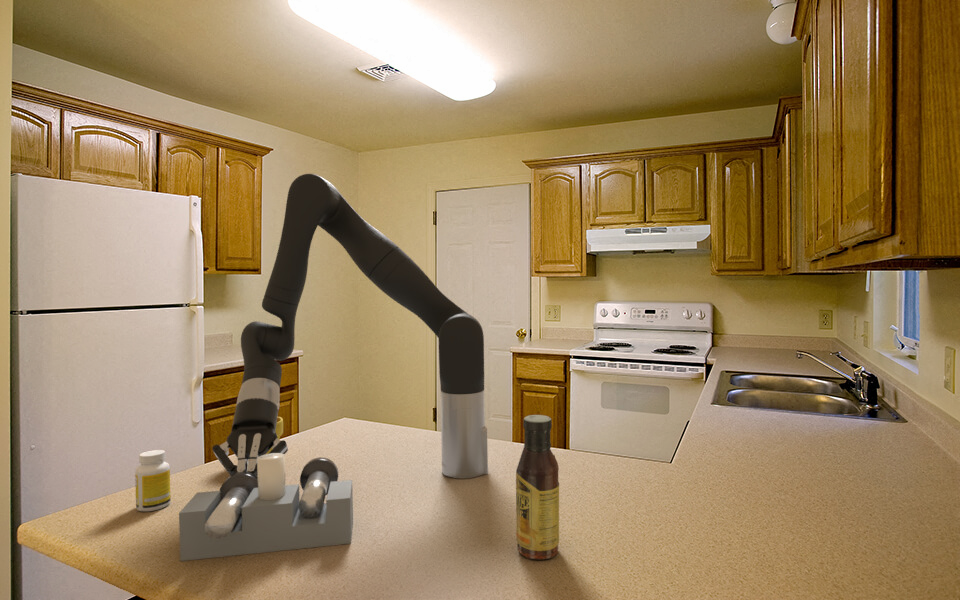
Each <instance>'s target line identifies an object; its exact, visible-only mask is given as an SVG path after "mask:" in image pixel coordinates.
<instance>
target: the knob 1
mask: <svg viewBox="0 0 960 600" xmlns="http://www.w3.org/2000/svg"><path fill="white" fill-rule="evenodd" d="M254 488H258V475H257V476H256V475H254V474H252V473H250V472H237V473H235V474H233V475H231V476H230V475H229V476H228V478H226V480H225V481H224V482H223V483H222V484H221V486H220V487H219V490H218V491H221V502H220V503H219V505H218V506H217V507H216V509H215V510H214V512H213V513H212V514H211V516H210V517H209V518H208V520H207V521H206V523H205V532H206V534H207V535H208V536H209V537H210V538H212V539H223V538H225V537H226V536H227V535H228V534H229V533H230V532H231V530H232V528H233V527H234V525H235V523H236V522H237V520H238V518H239V517H240V515H241V513H242V506H243V505H244V503H245V502H246V500H247V498H248V497H249V495H250V493H251V492H252V490H253V489H254Z"/></svg>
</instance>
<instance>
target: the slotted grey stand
mask: <svg viewBox="0 0 960 600" xmlns="http://www.w3.org/2000/svg"><path fill="white" fill-rule="evenodd" d="M285 486H286V494H285V495H284V496H283V497H281V498H278V499H274V500H260V499H259V498H258V488H254V489H253V490H252V492H251V493H250V495H249V497H248V498H247V500H246V502H245V503H244V505H243V506H242V513H241V515H240V517H239V518H238V520H237V522H236V523H235V525H234V527H233V528H232V530H231V532H230V533H229V534H228V535H227V536H226V537H225V538H223V539H212V538H210V537H209V536H208V535H207V534H206V532H205V523H206V521H207V520H208V518H209V517H210V516H211V514H212V513H213V512H214V510H215V509H216V507H217V506H218V505H219V503H220V502H221V491H219V490H213V491H211V490H210V491H200V492H196V493H195V494H194V495H193V496H192V497H191V498H190V500H189V501H188V502H187V503H186V504H185V505H184V506H183V507H182V509H181V510H180V511H179V512H178V525H179V558H180V559H179V560H180V562H185V561H193V560H194V561H195V560H203V559H212V558H213V559H214V558H221V557H223V558H224V557H234V556H241V555H242V556H243V555H251V554H252V555H253V554H262V553H271V552H282V551H291V550H300V549H301V550H302V549H309V548H310V549H311V548H319V547H321V548H322V547H331V546H339V545H349V544H352V538H353V526H354V502H353V499H354V498H353V497H354V496H353V495H354V494H353V480H352V479H347V480H338V481H333V482H330V487H329V491H328V494H327V495H326V498H325V501H326V502H324V504H323V508H322V510H321V512H320V513H319V514H318V515H316V516H314V517H306V516H304V515H302V514H301V512H300V511H299V502H300V483H299V484H285Z"/></svg>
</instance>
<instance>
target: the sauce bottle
mask: <svg viewBox="0 0 960 600" xmlns="http://www.w3.org/2000/svg"><path fill="white" fill-rule="evenodd" d="M552 424H553V422H552V418H551V417H549V416H548V415H543V414H532V415H531V414H529V415H526V416H525V417H524V418H523V423H522V425H523V428H524V429H523V430H524V442H523V443H524V445H523V449H522V452H521V455H520V458H519V462H518V465H517V467H516V469H515V470H516V472H515V486H516V487H515V490H516V491H515V492H516V493H515V504H516V505H515V507H516V509H515V512H516V515H515V517H516V518H515V521H516V523H515V524H516V525H515V526H516V527H515V528H516V532H515V533H516V534H515V535H516V542H517V550H518V552H519V553H520V555H523V556H524V557H525V558H527V559H528V560H536V561H541V560H549V559H552V558H554V557H556V556H557V554H558V551H559V544H560V482H559V463H558V461H557V459H556V455H554V454H553V452H552V450H551V448H552V443H551V429H552V427H553V426H552Z"/></svg>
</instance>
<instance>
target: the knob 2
mask: <svg viewBox="0 0 960 600" xmlns="http://www.w3.org/2000/svg"><path fill="white" fill-rule="evenodd" d="M333 481H339V470H338V467H337V465H336V463H335V462H334V461H333V460H331V459H330V458H327V457H321V456H320V457H316V458H315V457H314V458H312V459H311V460H309V461H308V462H306V463H305V465H304V466H303V468H302V470H301V473H300V476H299V485H300V488H301V489H302V490H303V491H302V494H301V497H300V498H299V500H300V502H299V511H300V512H301V514H302V515H304V516H306V517H314V516H316V515H318V514H319V513H320V512H321V510H322V508H323V504H324V503H325V501H326V497H327V495H328V491H329V487H330V482H333Z"/></svg>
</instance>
